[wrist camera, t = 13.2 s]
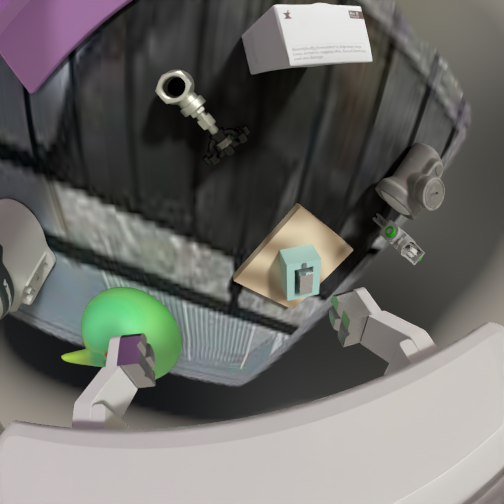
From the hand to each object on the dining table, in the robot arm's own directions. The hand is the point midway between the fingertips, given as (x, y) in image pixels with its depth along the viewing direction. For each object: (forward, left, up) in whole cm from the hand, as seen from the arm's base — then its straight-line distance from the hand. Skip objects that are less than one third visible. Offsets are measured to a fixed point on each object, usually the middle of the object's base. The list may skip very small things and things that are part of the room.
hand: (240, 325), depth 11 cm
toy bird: (-31, -4, -29) cm, 42 cm away
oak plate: (-7, -22, -29) cm, 37 cm away
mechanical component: (+8, -29, -29) cm, 42 cm away
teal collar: (-7, -22, -27) cm, 36 cm away
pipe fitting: (+17, -26, -29) cm, 43 cm away
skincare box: (+16, +2, -29) cm, 33 cm away
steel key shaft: (-7, -22, -27) cm, 36 cm away
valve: (+4, +4, -29) cm, 30 cm away
